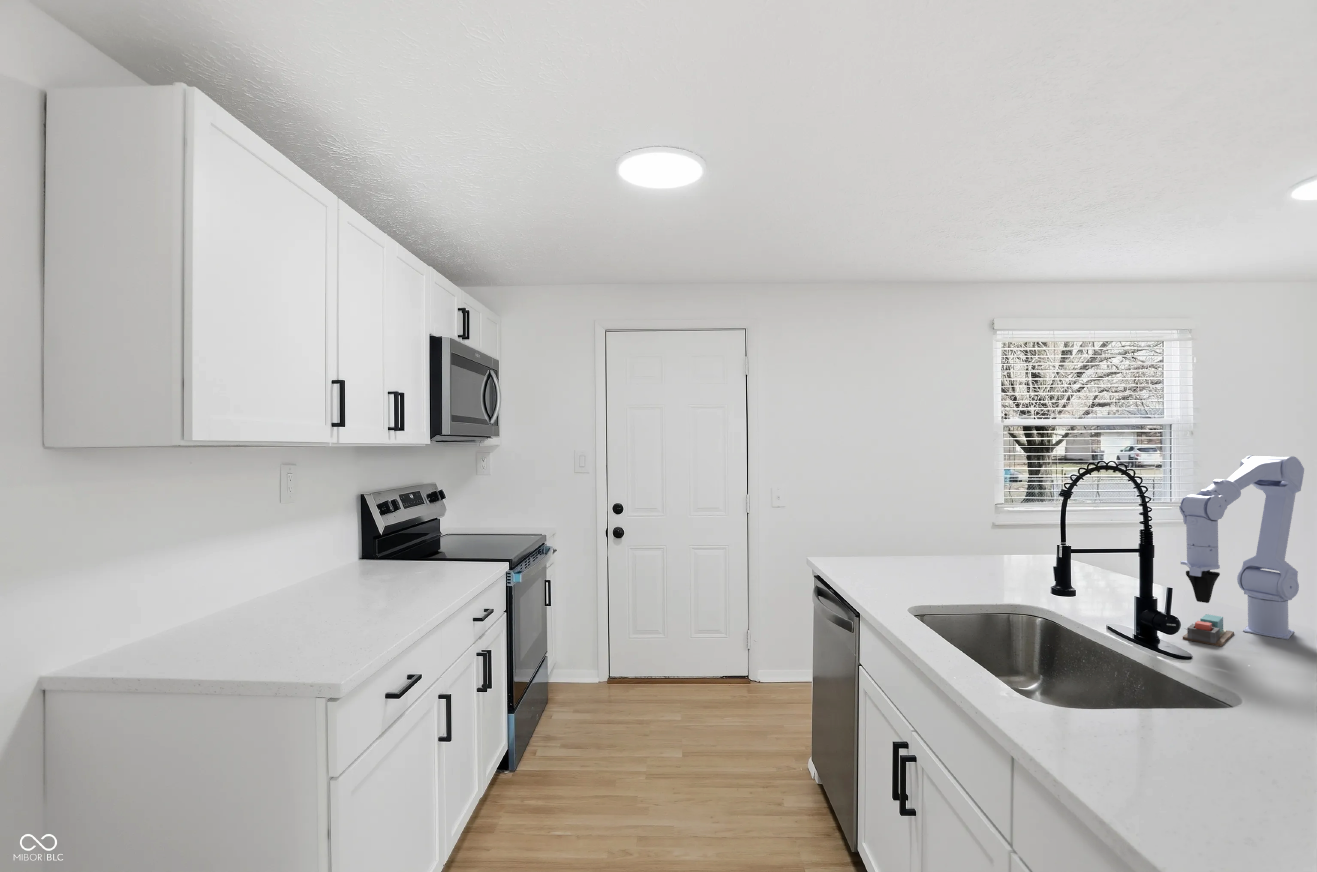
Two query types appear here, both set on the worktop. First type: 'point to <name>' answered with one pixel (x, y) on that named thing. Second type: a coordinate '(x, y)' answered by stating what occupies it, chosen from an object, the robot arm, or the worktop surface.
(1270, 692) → the worktop surface
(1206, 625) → the button
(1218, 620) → the teal block
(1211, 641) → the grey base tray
